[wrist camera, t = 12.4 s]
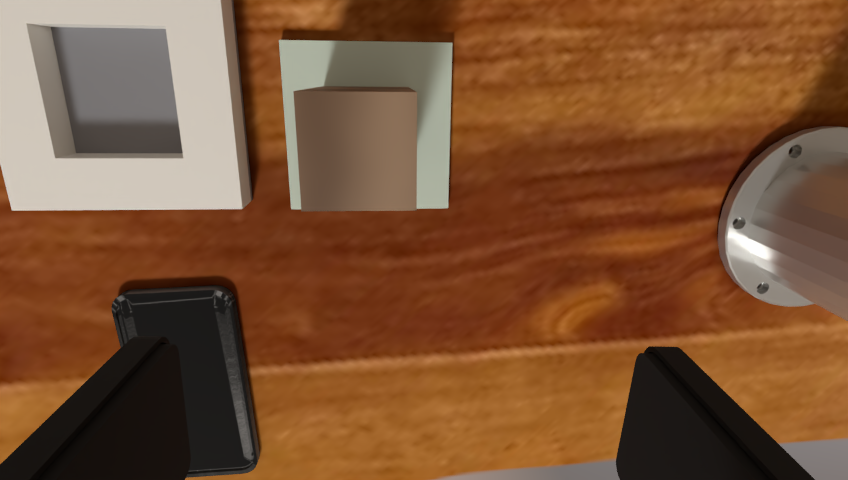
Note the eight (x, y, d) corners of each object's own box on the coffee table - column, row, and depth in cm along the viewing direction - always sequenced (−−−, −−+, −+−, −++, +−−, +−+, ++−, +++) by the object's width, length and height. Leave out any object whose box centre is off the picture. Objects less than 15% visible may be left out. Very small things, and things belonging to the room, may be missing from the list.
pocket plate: (230, -28, 28) (216, -37, 26) (252, 199, 32) (242, 209, 30) (-15, -34, 27) (-52, -44, 25) (39, 200, 31) (11, 210, 29)
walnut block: (408, 86, 30) (417, 92, 21) (408, 169, 32) (416, 210, 22) (323, 86, 30) (293, 91, 20) (327, 170, 31) (301, 211, 22)
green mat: (451, 43, 30) (452, 42, 30) (447, 205, 33) (448, 208, 33) (280, 40, 29) (278, 39, 29) (293, 206, 33) (291, 209, 32)
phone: (229, 288, 33) (259, 472, 38) (234, 282, 34) (262, 461, 39) (106, 295, 33) (151, 480, 37) (115, 288, 34) (157, 469, 39)
